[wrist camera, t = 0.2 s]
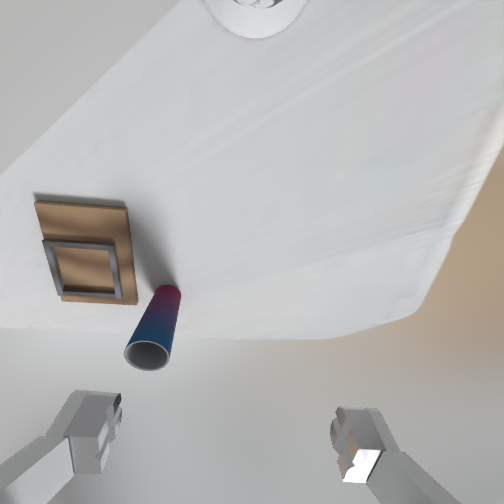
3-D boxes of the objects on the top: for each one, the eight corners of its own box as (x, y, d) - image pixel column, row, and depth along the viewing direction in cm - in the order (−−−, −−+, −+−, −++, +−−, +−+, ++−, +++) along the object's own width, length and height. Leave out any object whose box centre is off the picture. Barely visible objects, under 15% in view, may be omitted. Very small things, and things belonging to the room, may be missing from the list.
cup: (192, 297, 57) (178, 358, 44) (168, 313, 59) (148, 376, 46) (168, 275, 54) (145, 333, 41) (143, 293, 56) (114, 354, 43)
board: (38, 200, 46) (29, 205, 44) (127, 207, 47) (122, 212, 45) (65, 297, 56) (59, 304, 54) (138, 301, 57) (134, 308, 55)
